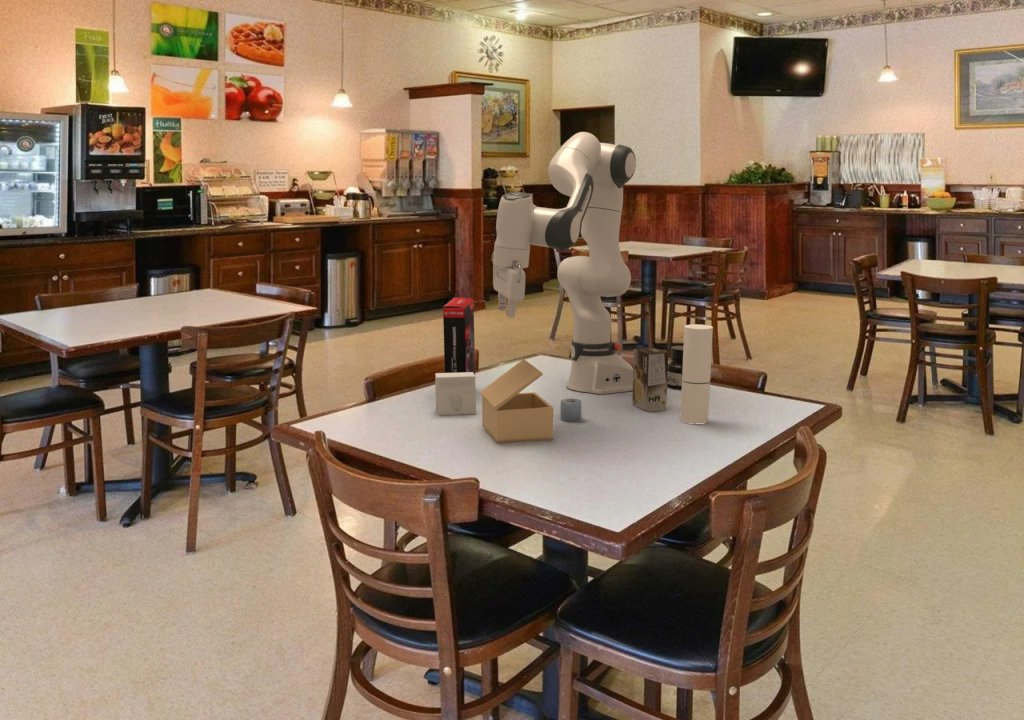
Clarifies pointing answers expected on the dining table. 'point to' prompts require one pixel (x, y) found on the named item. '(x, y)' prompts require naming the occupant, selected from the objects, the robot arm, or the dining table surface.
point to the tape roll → (570, 410)
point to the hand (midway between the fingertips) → (506, 313)
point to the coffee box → (650, 379)
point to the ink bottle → (675, 368)
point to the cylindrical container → (696, 373)
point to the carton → (519, 419)
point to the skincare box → (455, 393)
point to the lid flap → (510, 383)
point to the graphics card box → (459, 335)
